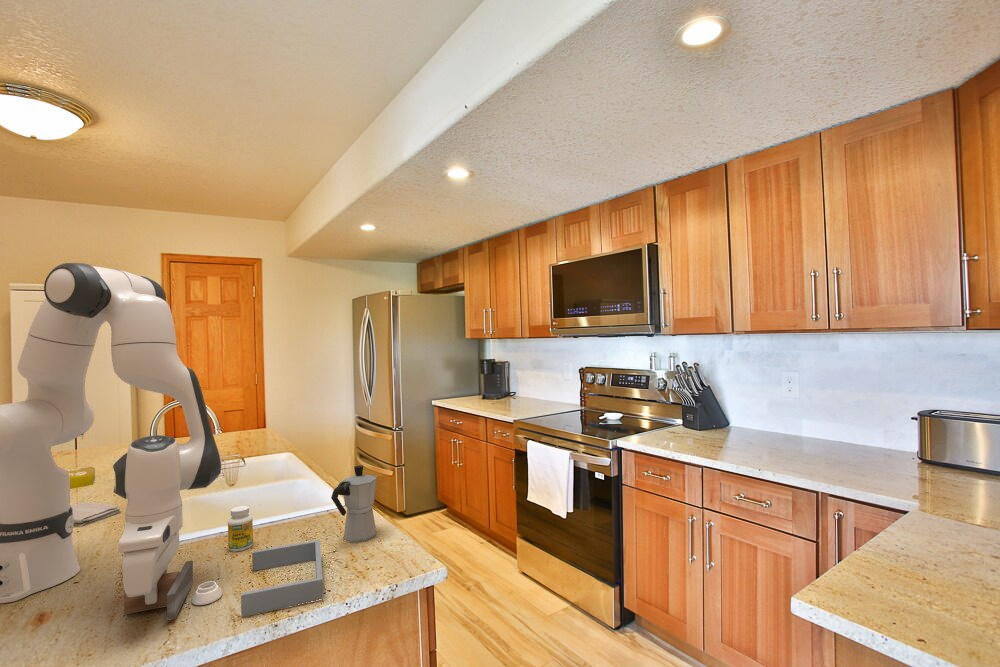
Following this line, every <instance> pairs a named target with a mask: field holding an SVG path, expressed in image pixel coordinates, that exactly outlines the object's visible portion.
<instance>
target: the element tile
mask: <svg viewBox="0 0 1000 667" xmlns="http://www.w3.org/2000/svg"><path fill="white" fill-rule="evenodd" d="M65 470H66V471H67V472H68V474H69V476H70V490H71V489H77V488H84V487H90V486H92V485H94V482H95V478H96V472H95V471H96V469H95V467H94V466H89V467H81V468H75V469H74V468H73V469H65Z"/></svg>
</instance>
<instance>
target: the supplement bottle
mask: <svg viewBox="0 0 1000 667" xmlns="http://www.w3.org/2000/svg"><path fill="white" fill-rule="evenodd" d="M230 516H231V517H230V518H229V519H228V521H227V537H228V538H227V541H228V545H227V546H228V550H229V551H230V552H234V553H235V552H242V551H246V550H248V549H250V548H251V547H252V546H253V545H254V527H253V524H254V523H253V522H254V521H253V516H252V515H251V514H250V507H249V505H248V506H247V505H240V506H236V507H232V508H231V509H230Z"/></svg>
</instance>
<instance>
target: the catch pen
mask: <svg viewBox="0 0 1000 667" xmlns="http://www.w3.org/2000/svg"><path fill="white" fill-rule="evenodd" d="M321 554H322V550H321V540H320V539H317V540H311V541H306V542H304V541H303V542H300V543H294V544H293V543H292V544H288V545H280V546H276V547H269V548H263V549H257V550H252V552H251V556H252V557H251V558H252V560H251V561H252V563H251V564H252V566H251V567H252V568H251V569H252V572H256V571H261V570H267V569H271V568H277V567H283V566H288V565H293V564H299V563H300V564H301V563H304V562H305V561H306V562H310V561H315V578H311V579H304V580H301V581H296V582H291V583H290V582H289V583H285V584H279V585H275V586H271V587H270V586H269V587H264V588H258V589H255V590H250V591H244V592H241V594H240V617H241V618H245V617H249V615H250V616H254V615H258V614H259V613H260V614H263V612H264V613H269V612H274V611H278V610H282V609H281V608H283V609H287V608H286V607H288V608H290V607H289V606H293V607H296V606H295V605H297V606H299V605H298V604H302V603H306V602H311V601H316V600H319V599H323V596H324V595H323V594H324V593H323V592H324V591H323V569H322V567H323V566H322V555H321ZM316 602H317V601H316ZM311 603H312V602H311ZM302 605H303V604H302ZM273 610H274V611H273ZM268 611H269V612H268ZM260 614H259V615H260Z"/></svg>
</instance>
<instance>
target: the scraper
mask: <svg viewBox="0 0 1000 667" xmlns="http://www.w3.org/2000/svg"><path fill="white" fill-rule="evenodd" d="M193 584H194V560H189V561H185V563H184V565H183V567H182V568H181V569H180V571H179V570H177V571H172V572H167V573H165V574H162V576H161V577H160V579H159V580H158V584H157V590H159V598H158V600H157V601H156V603H153V604H148V605H147V604H146V603H145V595H141V596H135V597H128V596H127V595H126V593H125V591H124V590H123V614H124V615H128V614H133V613H139V612H144V611H150V610H153V609H159V608H165V607H166V621H171V620H175V619H176V618H177V615H178V614H179V611H180V609H181V607H183V604H184V602H185V599H186V597H187V596H188V594H189V591H190V590H191V587H192V585H193Z"/></svg>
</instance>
